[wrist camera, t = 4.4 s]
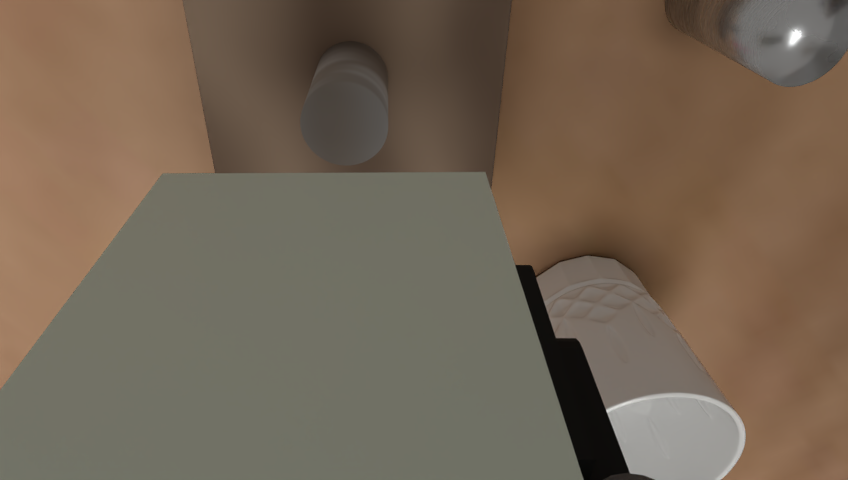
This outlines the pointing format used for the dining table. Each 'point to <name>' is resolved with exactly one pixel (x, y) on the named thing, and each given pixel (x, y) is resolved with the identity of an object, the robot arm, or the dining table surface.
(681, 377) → the white cup
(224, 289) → the housing
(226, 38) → the pin board
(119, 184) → the dining table surface
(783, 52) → the peg
